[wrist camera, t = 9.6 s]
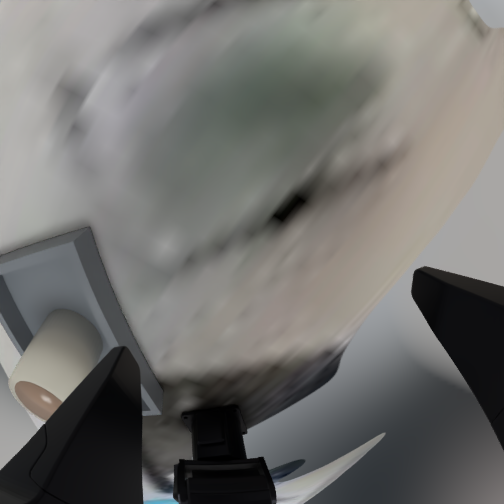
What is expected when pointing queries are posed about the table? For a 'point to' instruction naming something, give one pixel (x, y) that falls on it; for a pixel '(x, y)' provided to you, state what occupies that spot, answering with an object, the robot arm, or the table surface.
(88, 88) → the table surface
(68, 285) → the desk tray
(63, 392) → the ceramic cup
